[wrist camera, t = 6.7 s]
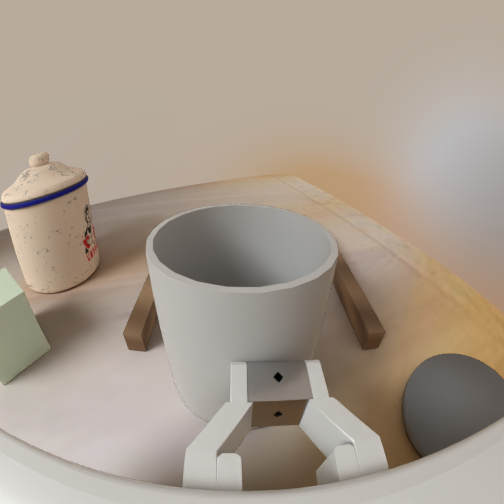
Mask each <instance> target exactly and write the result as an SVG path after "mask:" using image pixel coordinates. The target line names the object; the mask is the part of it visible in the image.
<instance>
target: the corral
mask: <svg viewBox="0 0 504 504" xmlns="http://www.w3.org/2000/svg"><path fill="white" fill-rule="evenodd" d="M333 284H334V286H335V288H336V290H337V293H338V295H339V297H340V299H341V301H342V303H343V306H344V308H345V310H346V312H347V315H348V317H349V319H350V321H351V324H352V326H353V328H354V330H355V333H356V335H357V337H358V340H359V342H360V344H361V347H362V349H371V348H378V347H379V344H380V342H381V340H382V338H383V336H384V333H385V331H384V329H383V327H382V325H381V323H380V321H379V320H378V318H377V316H376V314H375V312H374V310H373V309H372V307H371V305H370V303H369V301H368V300H367V298H366V296H365V294H364V293H363V291H362V289H361V287H360V286H359V284H358V282H357V281H356V279H355V277H354V275H353V274H352V272H351V270H350V269H349V267H348V265H347V264H346V262H345V260H344V259H343V257H342V255H341V254H340V252H339V251H338V258H337V263H336V268H335V272H334V277H333ZM156 317H157V311H156V306H155V301H154V296H153V291H152V286H151V280H150V275H148V277H147V279H146V281H145V284H144V286H143V288H142V290H141V292H140V295H139V297H138V299H137V301H136V304H135V306H134V308H133V311H132V313H131V315H130V318H129V320H128V322H127V325H126V327H125V330H124V332H123V335H124V337H125V340H126V343H127V346H128V349H129V350H137V351H146V350H147V346H148V343H149V340H150V336H151V333H152V330H153V327H154V324H155V321H156Z"/></svg>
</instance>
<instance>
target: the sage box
mask: <svg viewBox="0 0 504 504" xmlns="http://www.w3.org/2000/svg"><path fill="white" fill-rule="evenodd" d="M50 349H51V347H50V345H49V343H48V341H47V339H46V337H45V336H44V334H43V332H42V330H41V328H40V326H39V324H38V322H37V320H36V318H35V316H34V313H33V311H32V309H31V307H30V305H29V302H28V300H27V298H26V295H25V293H24V291H23V290H22V289H21V287H20V286H19V285H18V284H17V282H16V281H15V280H14V278H13V277H12V276H11V274H10V273H9V272H8V270H7V269H6V268H5V267H4V268H3V269H1V270H0V381H1V382H2V383H3V385H5V384H7V383H8V382H9V381H10V380H12V379H13V378H14V377H15V376H17V375H18V374H19V373H20V372H22V371H23V370H24V369H25V368H27V367H28V366H29V365H30V364H32V363H33V362H34V361H36V360H37V359H38V358H39V357H41V356H42V355H43V354H45V353H46V352H47V351H49V350H50Z"/></svg>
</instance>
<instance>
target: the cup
mask: <svg viewBox="0 0 504 504" xmlns="http://www.w3.org/2000/svg"><path fill="white" fill-rule="evenodd" d="M146 257H147V263H148V269H149V275H150V280H151V286H152V291H153V296H154V301H155V306H156V311H157V315H158V320H159V324H160V329H161V333H162V337H163V341H164V345H165V349H166V353H167V357H168V361H169V364H170V368H171V372H172V375H173V379H174V382H175V385H176V388H177V390H178V392H179V394H180V396H181V398H182V400H183V402H184V404H185V405H186V406H187V407H188V408H189V409H190V410H191V411H192V412H193V413H194V414H195V415H196V416H197V417H199V418H201V419H203V420H204V421H206V422H208V423H209V422H210V421H211V419H212V418H213V417H214V416H215V415H216V413H217V412H218V411H219V410H220V409H221V407H222V406H223V405H224V404H225V402H230V382H231V362H246V363H247V362H278V361H298V360H312V359H313V356H314V352H315V349H316V345H317V342H318V338H319V334H320V331H321V327H322V323H323V319H324V315H325V311H326V307H327V303H328V299H329V295H330V290H331V286H332V282H333V277H334V272H335V268H336V263H337V258H338V246H337V241H336V240H335V238H334V237H333V235H332V234H331V232H330V231H329V230H327V229H326V228H325V227H324V226H322V225H321V224H320V223H318V222H316V221H314V220H312V219H310V218H309V217H307V216H304V215H302V214H299V213H296V212H293V211H290V210H286V209H281V208H277V207H272V206H265V205H256V204H221V205H211V206H205V207H200V208H195V209H191V210H188V211H185V212H182V213H178V214H176V215H174V216H172V217H170V218H168V219H166V220H164V221H163V222H161V223H160V224H159V225H158V226H156V227H155V228H154V229H153V230H152V232H151V233H150V235H149V236H148V238H147V239H146ZM254 428H258V427H251V429H254Z"/></svg>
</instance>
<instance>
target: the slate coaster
mask: <svg viewBox="0 0 504 504" xmlns="http://www.w3.org/2000/svg"><path fill="white" fill-rule="evenodd" d="M402 417H403V422H404V426H405V429H406V432H407V435H408V437H409V439H410V441H411V443H412V445H413V446H414V448H415V449H416V451H417V452H418V453H419V455H420V456H421V457H422V458H423V457H425V456H428V455H430V454H433V453H435V452H438V451H440V450H442V449H444V448H447V447H449V446H451V445H453V444H455V443H457V442H459V441H461V440H464V439H465V438H467V437H469V436H471V435H473V434H475V433H477V432H479V431H481V430H482V429H484V428H486V427H488V426H489V425H491V424H493V423H494V422H496V421H498V420H499V419H501V418H502V417H504V379H503V378H502V377H501V376H500V375H499V374H498V373H497V372H496V371H495V370H493V369H492V368H491V367H489V366H488V365H486V364H485V363H483V362H481V361H479V360H477V359H474V358H472V357H469V356H465V355H460V354H441V355H437V356H433V357H431V358H429V359H427V360H426V361H424V362H423V363H421V364H420V365H419V366H418V367H417V368H416V370H415V371H414V372H413V374H412V375H411V377H410V379H409V381H408V382H407V385H406V387H405V390H404V394H403V399H402Z"/></svg>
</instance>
